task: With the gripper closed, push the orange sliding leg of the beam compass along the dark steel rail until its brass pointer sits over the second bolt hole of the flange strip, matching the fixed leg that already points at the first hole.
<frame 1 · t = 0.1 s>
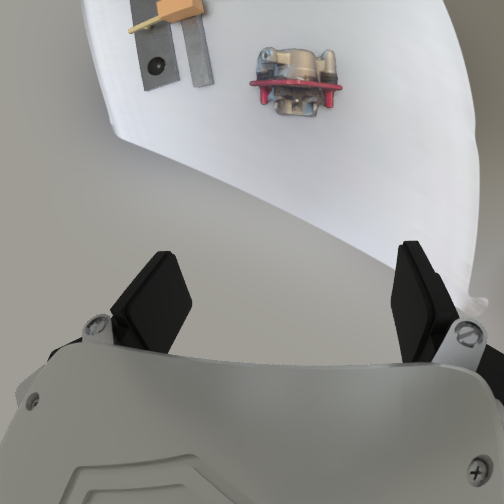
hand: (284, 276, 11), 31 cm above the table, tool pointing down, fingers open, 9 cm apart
sliding leg: (160, 15, 26), point 4 cm above the table, slide at 8.5 cm
brake caliper: (297, 82, 32), on the table
rail: (193, 18, 28), on the table
flange strip: (152, 25, 29), on the table
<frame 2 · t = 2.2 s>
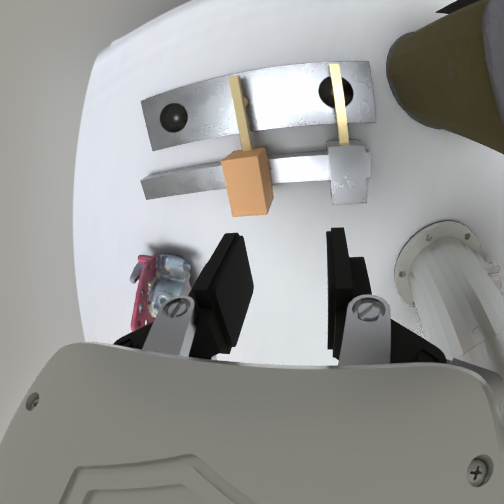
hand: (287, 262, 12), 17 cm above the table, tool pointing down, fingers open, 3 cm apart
sliding leg: (243, 141, 22), point 4 cm above the table, slide at 8.5 cm
brake caliper: (174, 274, 38), on the table
rail: (249, 169, 27), on the table
flange strip: (251, 100, 24), on the table
canister: (432, 77, 18), on the table
fixed leg: (342, 161, 25), resting on flange strip
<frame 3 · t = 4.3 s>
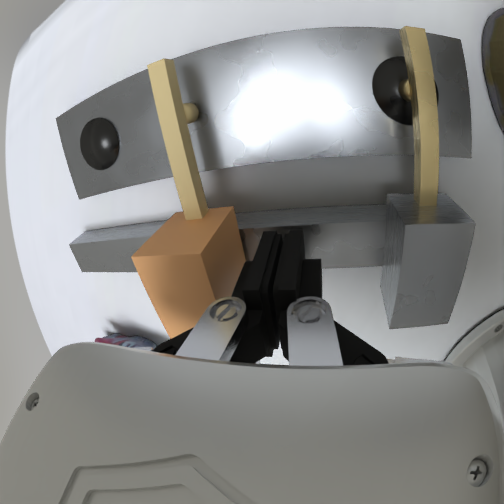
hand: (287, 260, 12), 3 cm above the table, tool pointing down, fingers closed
sliding leg: (183, 202, 11), point 4 cm above the table, slide at 9.8 cm, touching gripper
brake caliper: (147, 355, 26), on the table
rail: (232, 233, 16), on the table
flange strip: (233, 103, 12), on the table
fixed leg: (402, 224, 13), resting on flange strip
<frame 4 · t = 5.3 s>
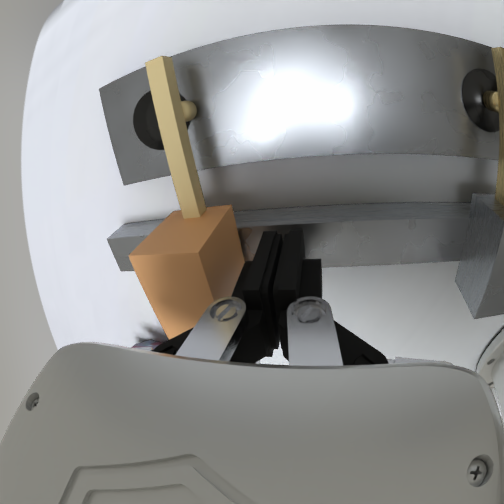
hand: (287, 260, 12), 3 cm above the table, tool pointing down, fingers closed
sliding leg: (181, 200, 11), point 4 cm above the table, slide at 14.4 cm, touching gripper
rail: (313, 227, 14), on the table
flange strip: (329, 89, 10), on the table
fixed leg: (470, 222, 12), resting on flange strip
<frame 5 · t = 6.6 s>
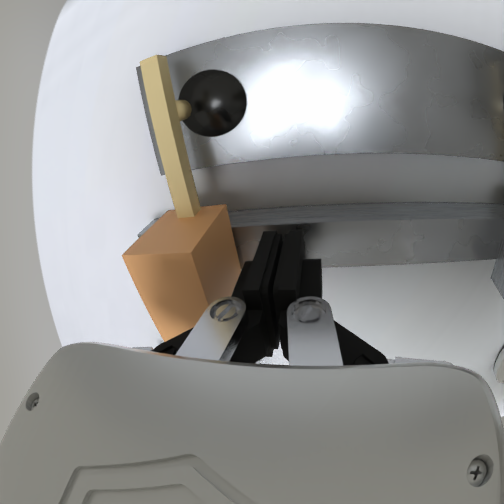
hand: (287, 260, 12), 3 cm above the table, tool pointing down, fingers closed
sliding leg: (175, 199, 11), point 4 cm above the table, slide at 17.3 cm
rail: (364, 224, 13), on the table
flange strip: (388, 87, 10), on the table
fixed leg: (502, 222, 11), resting on flange strip
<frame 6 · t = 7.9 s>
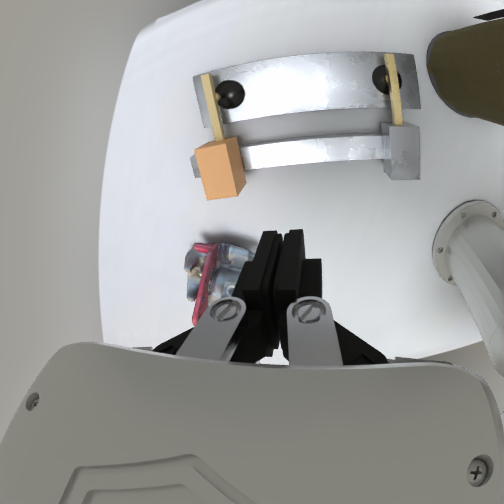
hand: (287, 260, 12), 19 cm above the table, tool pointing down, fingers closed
sliding leg: (215, 132, 24), point 4 cm above the table, slide at 17.3 cm
brake caliper: (225, 264, 38), on the table
rail: (304, 148, 27), on the table
flange strip: (308, 82, 23), on the table
canister: (463, 71, 18), on the table
fixed leg: (390, 143, 25), resting on flange strip
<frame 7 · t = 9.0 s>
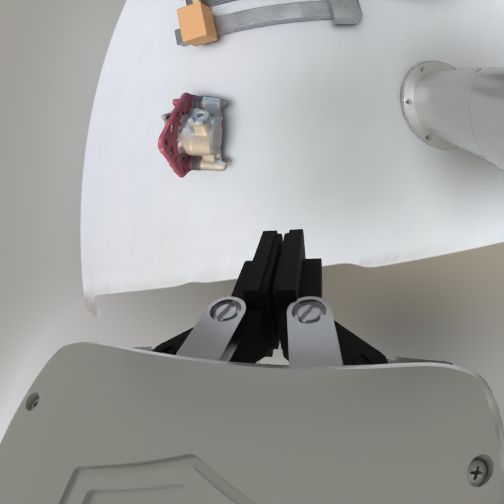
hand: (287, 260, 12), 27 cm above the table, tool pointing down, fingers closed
sliding leg: (195, 4, 22), point 4 cm above the table, slide at 17.3 cm
brake caliper: (202, 130, 36), on the table
rail: (266, 18, 25), on the table
fixed leg: (339, 11, 23), resting on flange strip
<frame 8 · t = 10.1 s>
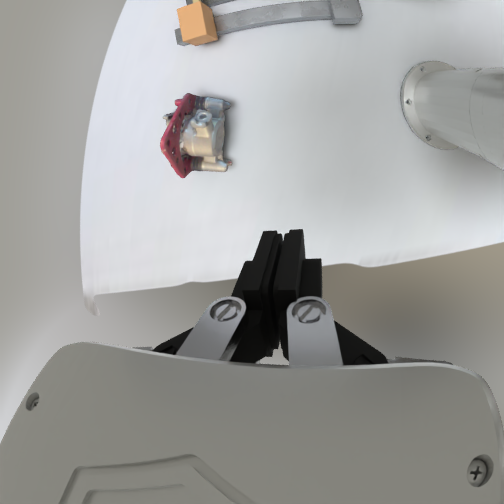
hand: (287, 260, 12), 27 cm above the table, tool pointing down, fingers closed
sliding leg: (195, 3, 22), point 4 cm above the table, slide at 17.3 cm
brake caliper: (203, 130, 36), on the table
rail: (266, 17, 25), on the table
fixed leg: (339, 11, 23), resting on flange strip
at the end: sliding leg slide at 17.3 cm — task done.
